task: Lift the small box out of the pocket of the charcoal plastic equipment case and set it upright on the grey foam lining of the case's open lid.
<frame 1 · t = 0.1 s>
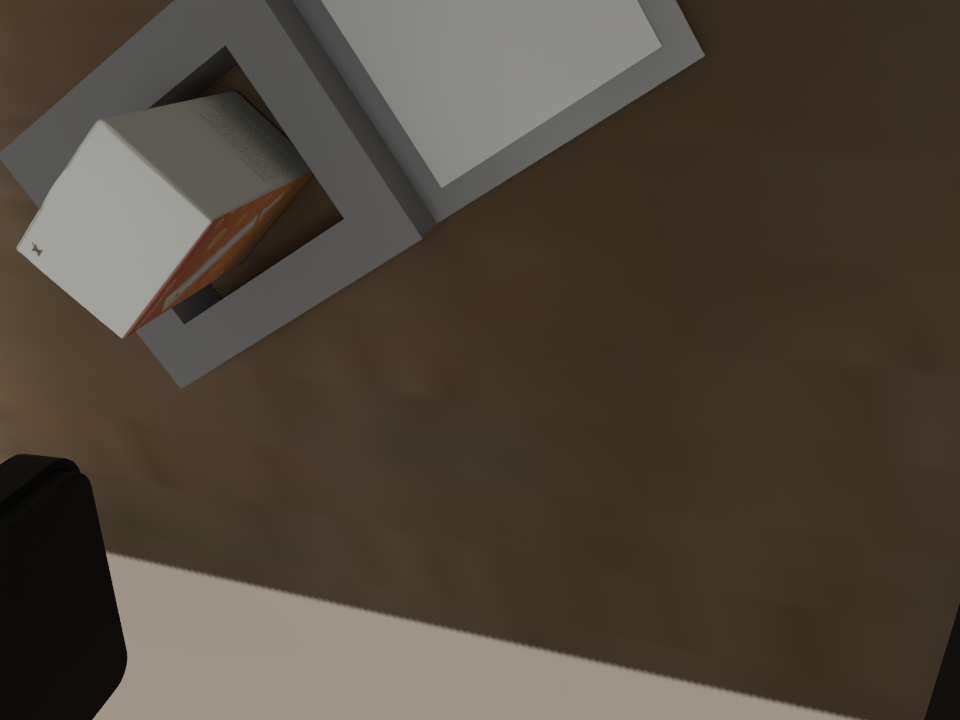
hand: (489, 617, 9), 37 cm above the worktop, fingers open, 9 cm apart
case: (241, 179, 47), on the worktop
small box: (243, 178, 47), resting in case
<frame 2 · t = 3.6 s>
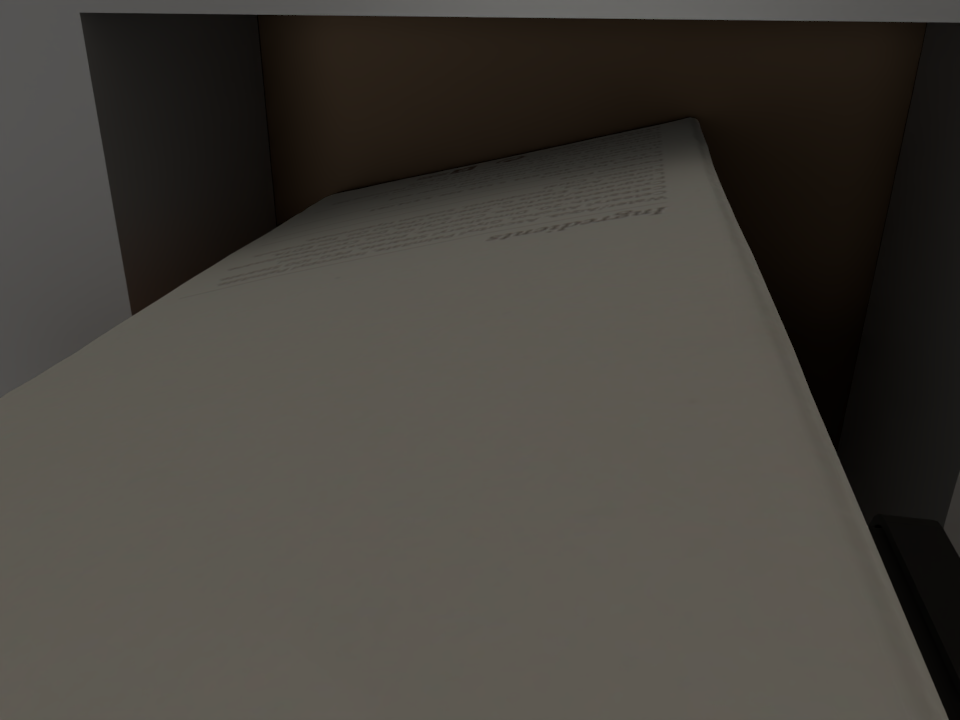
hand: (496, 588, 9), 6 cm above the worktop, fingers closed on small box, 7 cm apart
case: (551, 378, 15), on the worktop
small box: (551, 371, 15), resting in case, touching gripper
when the fingers open (9 cm above the worktop, at t = 9.5 s): small box drops 1 cm, resting on case.
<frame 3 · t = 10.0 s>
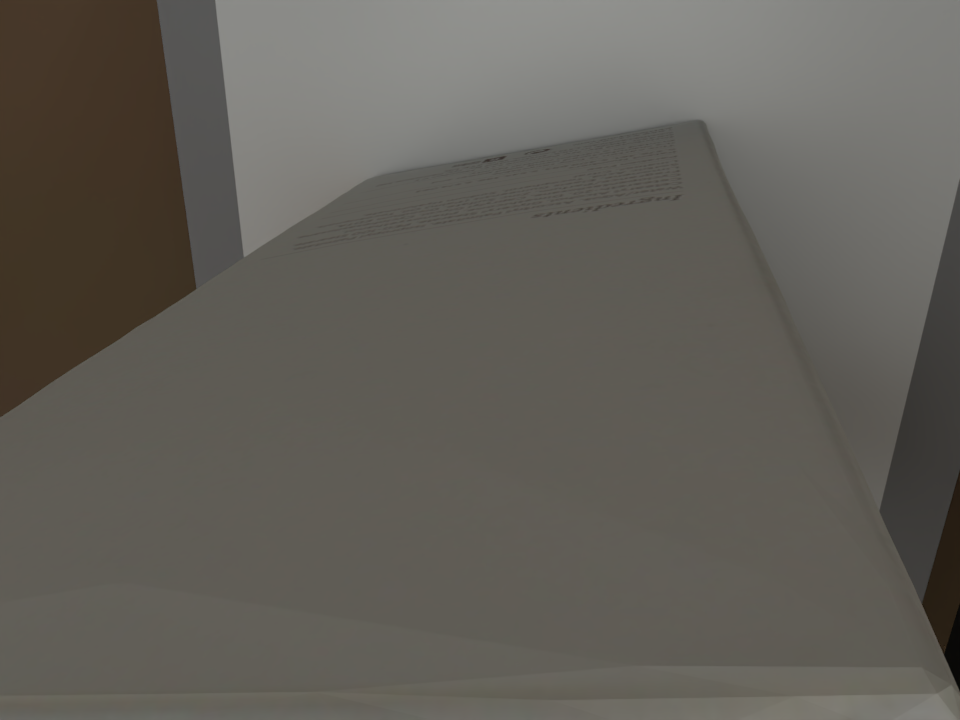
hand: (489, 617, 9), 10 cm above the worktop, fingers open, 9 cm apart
small box: (563, 346, 16), point 2 cm above the worktop, touching case
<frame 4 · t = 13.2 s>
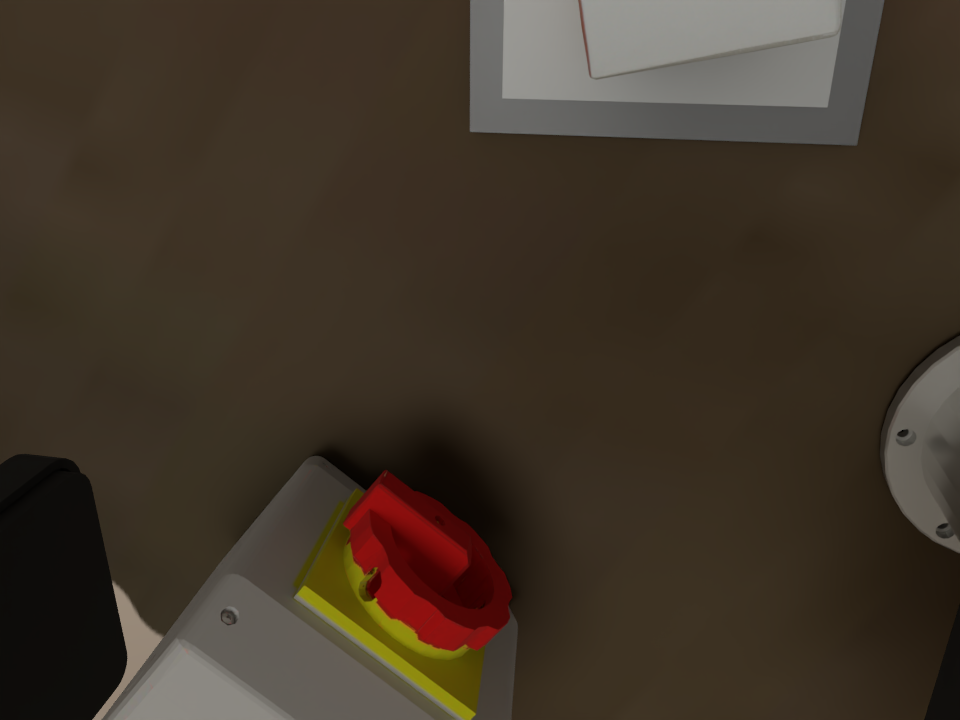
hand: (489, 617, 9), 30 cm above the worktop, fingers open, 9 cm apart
electrical switch box: (405, 537, 47), on the worktop
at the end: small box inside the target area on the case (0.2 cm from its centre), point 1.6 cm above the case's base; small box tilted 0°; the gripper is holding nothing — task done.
